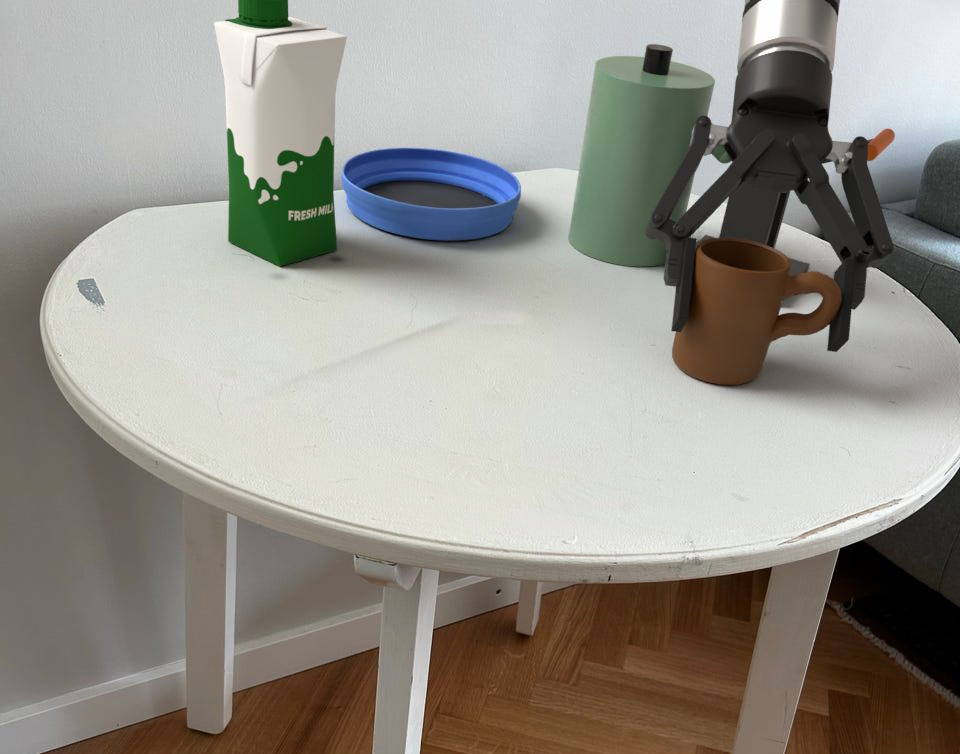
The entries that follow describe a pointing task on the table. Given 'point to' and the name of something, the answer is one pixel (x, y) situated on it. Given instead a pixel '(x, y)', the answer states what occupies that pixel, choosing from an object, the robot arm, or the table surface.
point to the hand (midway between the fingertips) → (758, 335)
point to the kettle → (635, 152)
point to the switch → (877, 144)
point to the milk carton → (280, 131)
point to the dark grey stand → (756, 219)
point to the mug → (744, 309)
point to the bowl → (430, 193)
